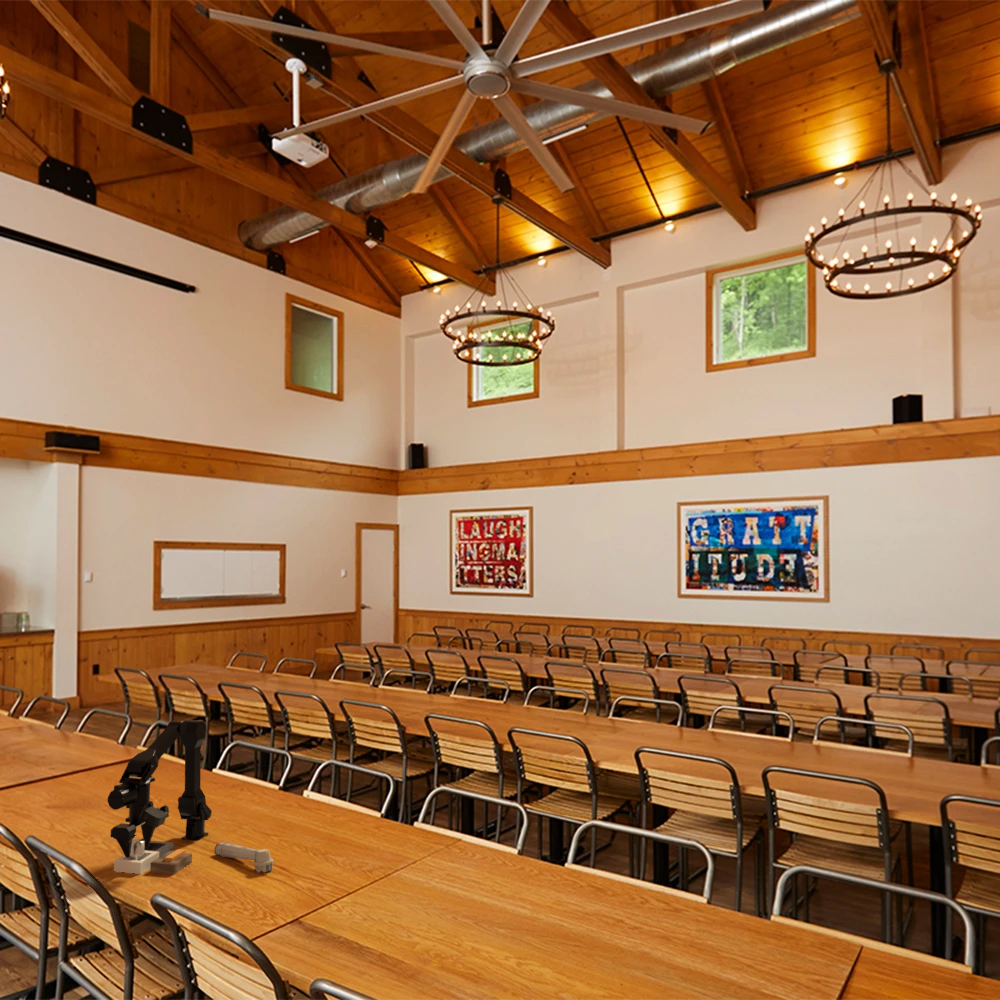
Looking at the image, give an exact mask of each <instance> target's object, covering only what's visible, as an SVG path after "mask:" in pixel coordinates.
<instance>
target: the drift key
mask: <svg viewBox="0 0 1000 1000" xmlns="http://www.w3.org/2000/svg"><path fill="white" fill-rule="evenodd" d="M172 852H173V853H171V854H170V855H168V856H166V857H165V862H167V863H170V862H172V861H173V860H175V859H176V858H178V857H180V856H181V855H183V854H184V853H186V849H182V848H181V849H180V848H178V849H176V850H173V851H172Z"/></svg>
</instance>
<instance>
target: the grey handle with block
mask: <svg viewBox="0 0 1000 1000" xmlns="http://www.w3.org/2000/svg"><path fill="white" fill-rule="evenodd" d="M213 849H214V854H215V855H216V856H219V855H220V857H222V858H231V859H240V860H248V861H249V860H250V861H253V865H254V871H255V870H256V871H257V872H256V871H255V872H256V873H261V872H263V873H268V872H271V871H272V870H273V869H274V868H273V863H274V859H273V858H272V857H271V853H270V849H268V848H261V849H256V848H251V847H247V846H242V845H237V844H234V843H233V844H232V843H230V842H229V841H227V842H218V843H217V844H216V845H215V846H214V848H213Z"/></svg>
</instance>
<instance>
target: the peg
mask: <svg viewBox="0 0 1000 1000" xmlns="http://www.w3.org/2000/svg"><path fill="white" fill-rule="evenodd" d="M144 849H145V839H143V838H136V839H135V838H134V839H133V840H132V845H131V853H130V860H141V859H143V858H144Z"/></svg>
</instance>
